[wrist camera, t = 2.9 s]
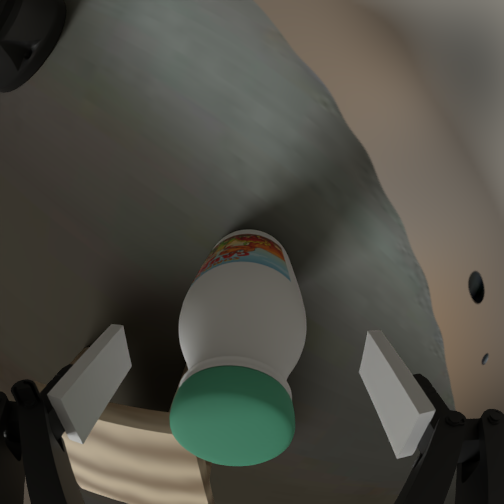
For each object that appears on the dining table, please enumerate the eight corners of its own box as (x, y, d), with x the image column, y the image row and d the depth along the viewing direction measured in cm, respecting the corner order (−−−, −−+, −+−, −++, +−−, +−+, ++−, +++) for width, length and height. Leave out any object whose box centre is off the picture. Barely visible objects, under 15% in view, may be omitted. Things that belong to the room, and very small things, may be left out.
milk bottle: (305, 256, 28) (384, 407, 8) (261, 318, 29) (261, 500, 10) (235, 211, 27) (177, 302, 8) (194, 279, 29) (104, 436, 9)
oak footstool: (74, 339, 31) (22, 394, 20) (212, 355, 31) (191, 436, 19) (108, 433, 36) (81, 488, 24) (221, 451, 35) (212, 518, 24)
